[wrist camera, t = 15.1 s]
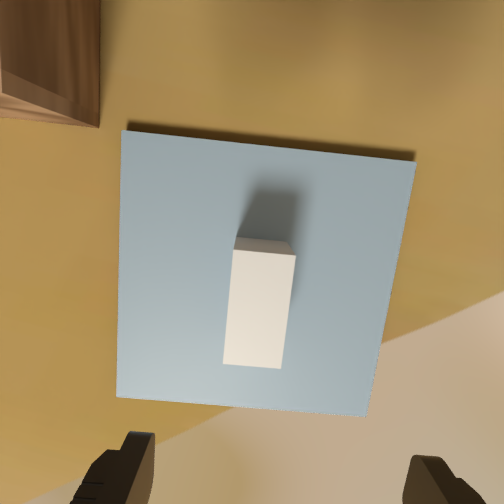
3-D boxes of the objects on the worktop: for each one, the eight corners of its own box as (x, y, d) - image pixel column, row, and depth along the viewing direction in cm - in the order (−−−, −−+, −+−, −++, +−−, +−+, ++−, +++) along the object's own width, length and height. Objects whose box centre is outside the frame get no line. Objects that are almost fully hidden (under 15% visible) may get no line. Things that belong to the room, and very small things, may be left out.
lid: (406, 163, 26) (458, 157, 20) (360, 405, 31) (390, 464, 24) (129, 133, 25) (89, 116, 19) (123, 385, 30) (89, 441, 24)
